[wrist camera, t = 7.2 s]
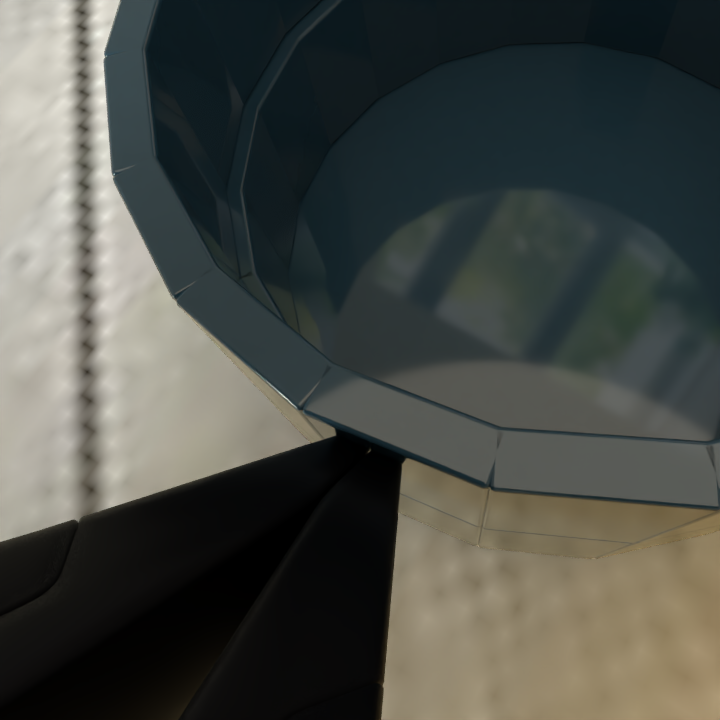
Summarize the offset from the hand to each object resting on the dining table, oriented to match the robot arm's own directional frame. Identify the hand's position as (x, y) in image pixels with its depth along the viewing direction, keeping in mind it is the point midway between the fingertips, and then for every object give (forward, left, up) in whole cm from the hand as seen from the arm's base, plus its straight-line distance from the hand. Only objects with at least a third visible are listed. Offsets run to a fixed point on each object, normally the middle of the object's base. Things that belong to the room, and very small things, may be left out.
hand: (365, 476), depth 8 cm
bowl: (+6, +4, -7) cm, 10 cm away
